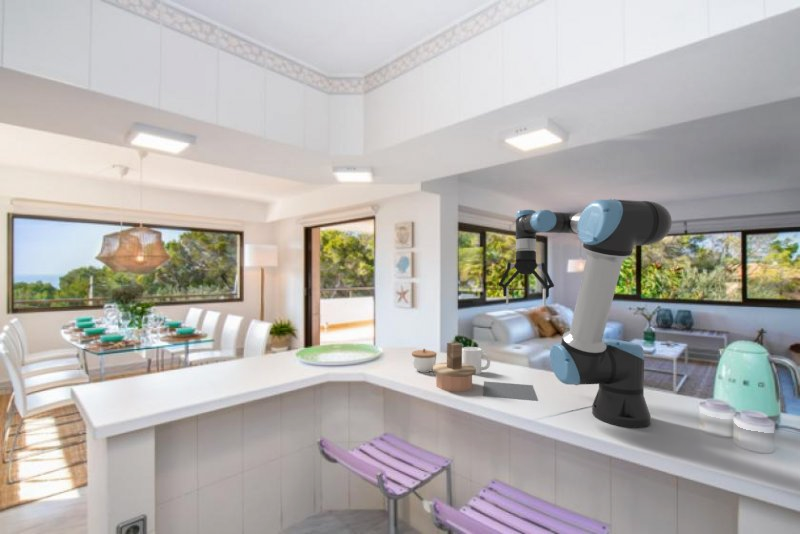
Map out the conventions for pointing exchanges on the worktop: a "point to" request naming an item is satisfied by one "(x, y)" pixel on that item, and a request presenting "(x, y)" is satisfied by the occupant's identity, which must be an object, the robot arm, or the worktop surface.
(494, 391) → the mat
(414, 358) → the lidded jar
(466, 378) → the bowl
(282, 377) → the worktop surface
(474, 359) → the mug
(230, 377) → the worktop surface
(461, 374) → the cover
